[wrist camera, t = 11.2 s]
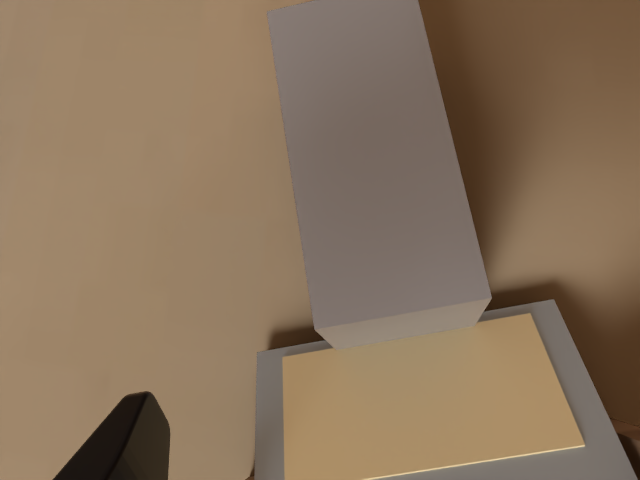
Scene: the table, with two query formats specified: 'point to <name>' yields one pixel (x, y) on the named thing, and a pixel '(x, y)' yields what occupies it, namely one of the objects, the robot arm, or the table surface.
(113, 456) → the robot arm
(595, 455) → the trapdoor
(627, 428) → the trapdoor frame
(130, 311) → the table surface
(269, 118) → the table surface
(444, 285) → the tall grey rectangular block
